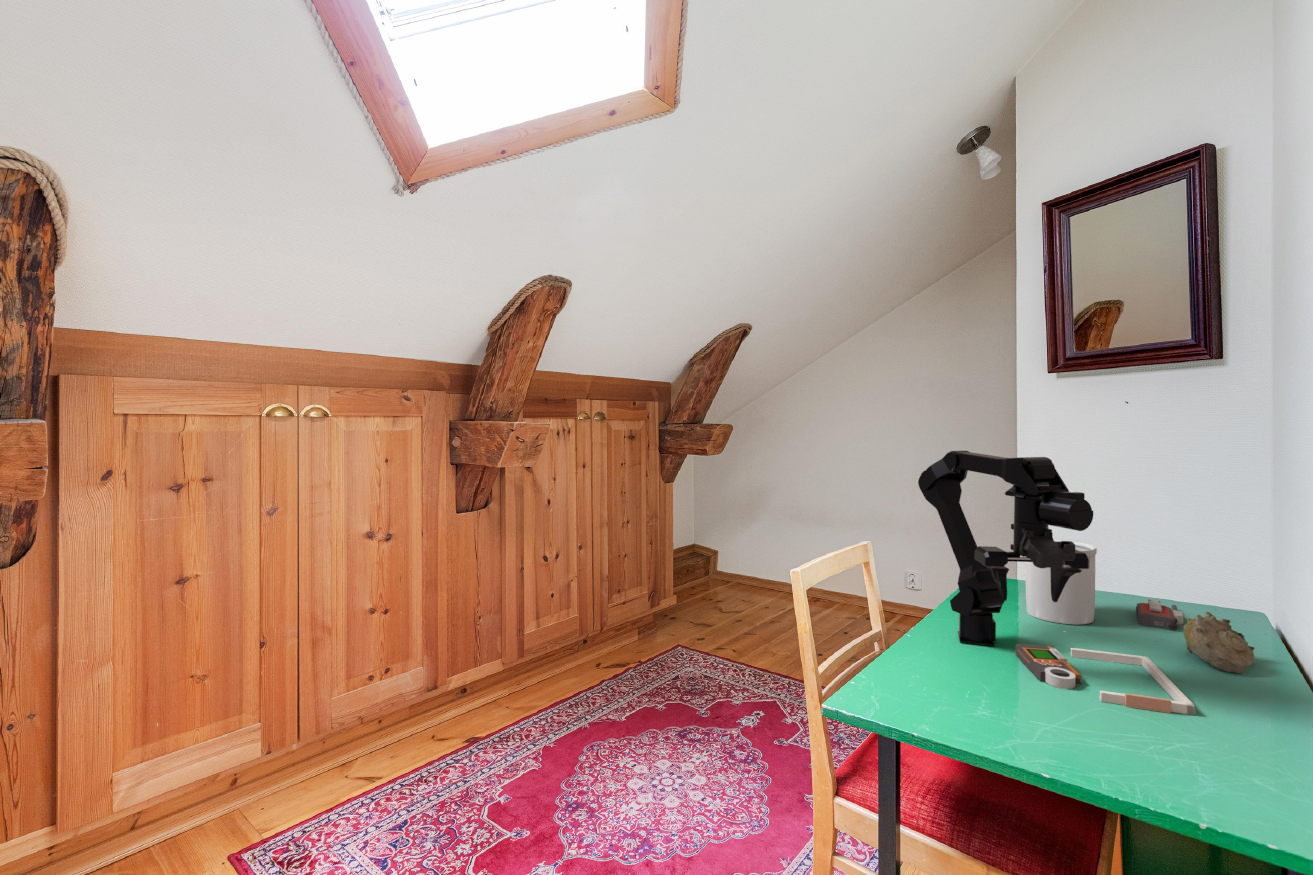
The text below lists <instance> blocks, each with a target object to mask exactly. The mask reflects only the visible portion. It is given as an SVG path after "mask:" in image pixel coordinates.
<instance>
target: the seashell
mask: <svg viewBox="0 0 1313 875" xmlns="http://www.w3.org/2000/svg"><path fill="white" fill-rule="evenodd" d="M1204 614H1205V616H1202V615H1200V614H1197V615H1196V616H1195V617H1196V618H1190V617H1189V618H1187V619H1186V621H1187V622H1186V624H1184V625H1183V637H1184V640H1185V641H1186V642H1185V643H1186V649H1187V651H1188V652H1189V653H1192V654H1194V655H1196V656H1197V657H1198V658H1200V659H1201V660H1203V661H1204V662H1206V663H1208V664H1209V665H1211V667H1215V668H1217V669H1218V670H1220V671H1224V672H1228V673H1230V672H1232V673H1237V674H1242V673H1243V672H1244V671H1246V670H1248V669H1249V668H1248V667H1251V666H1252V664H1253V662H1254V661H1255V655H1254V650H1255V647H1253V646H1250V645H1249V641H1247V640H1246V638H1245V636H1244V635H1243V634H1242V633H1241V632H1238V631H1236V630H1234V629H1233V628H1232V625H1230V623H1231V621H1230V619H1224V618H1222V619H1217V617H1216V616H1215V615H1213V614H1212V613H1211V612H1209V611H1206V612H1205V613H1204Z"/></svg>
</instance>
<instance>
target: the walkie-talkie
mask: <svg viewBox="0 0 1313 875" xmlns="http://www.w3.org/2000/svg"><path fill="white" fill-rule="evenodd" d="M1147 602H1148V603H1147ZM1147 602H1138V603H1136V606H1135V613H1136V616H1137V617H1136V618H1137V623H1138V625H1140V626H1144V627H1150V628H1158V629H1162V630H1170V631H1174V630H1176V629H1178V625H1183V624H1184V622H1185V621H1184V611H1183V610H1181V611H1180V610H1179V609H1178V607H1177V605H1176V604H1171V607H1169V606H1167V605H1163V604H1162V603H1161V600H1154V599H1148V601H1147Z"/></svg>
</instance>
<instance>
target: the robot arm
mask: <svg viewBox="0 0 1313 875" xmlns="http://www.w3.org/2000/svg"><path fill="white" fill-rule="evenodd" d="M968 472H974V473H980V474H985V475H990V476H994V477H999V478H1002V480H1003V481H1004V482H1006V483H1009V484H1011V485H1012V487H1011V488H1009V489H1008V490H1006V491H1005V492H1004V495H1005V496H1009V497H1014V499H1013V500H1014V502H1013V505H1014V506H1013V523H1011V524H1010V530H1013V543H1010V550H1012V551H1006V550H1003V549H1002V548H1000V547H997V546H984V545H983V546H982V545H980V546H978V545H977V543H976V540H975V537H974V535H973V532H972V530H971V528H970V525H969V522H968V520H967V518H966V516H965V513H964V511H963V509H962V506H961V502H960V501H961V496H962V493H963V492H962V486H961V483H962V482H964V480H966V479H967V476H968V475H967V474H968ZM917 484H918V488H919V490H920V492H921V493H922V495H923V497H924V499H925V500H926V501H927V502H928V503H929V504H931V506H932V507H934V508H935V509H936V511H937V513H938V516H939V518H940V522H941V523H942V526H943V529H944V531H945V534H946V537H947V539H948V541H949V544H950V547H951V550H952V552H953V555H954V557H955V561H956V562H957V565H958V568H959V574H958V578H957V586H958V590H959V592H958V593H957V594H956V595H954V596H953V597H952V598H951V599H950V601H949V604H950V607H951V608H950V609H951V610H952V612H954V613H957V614H958V631H957V636H958V641H959V642H960V643H963V644H971V645H976V646H977V645H978V646H987V647H994V646H995V643H994V642H996V638H997V637H996V636H997V634H996V633H997V631H996V630H997V624H996V620H995V619H994V615H993V614H1000V613H1001V609H1002V607H1003V605H1004V603H1005V602H1006V601H1007V600H1008V583H1007V582H1008V579H1007V575H1008V573H1009V571H1010V568H1008V567H1006V565H1008V563H1009V562H1013V563H1014V562H1016V563H1017V562H1019V563H1020V562H1021V563H1025V562H1033V564H1034V565H1035V566H1036V567H1038V568H1050V575H1051V597H1052V601H1053V602H1057V601H1058V599H1059V597H1060V595H1061V593H1062V591H1063V589H1064V587H1065V585H1066V583H1067V581H1068V580H1069V578H1070V577H1071V576H1072V575H1074V574H1075V573H1081V571H1082V570H1080V569H1089V563H1090V560H1089V558H1088V556H1087V555H1086V553H1083V552H1081V551H1078V550H1075V544H1074V543H1073V542H1072V541H1073V540H1067V541H1061V542H1055V541H1054V540H1055V539H1054V537H1053V534H1054V533H1053V530H1052V529H1051V528H1049V526H1052V527H1057V528H1063V529H1069V530H1071V531H1073V530H1074V531H1079V532H1082V531H1085V530H1087V529H1089V527H1090V526H1091V524H1092V523H1093V520H1094V510H1092V506H1091V504H1090V502H1089V501H1088V500H1086V499H1085V492H1081V491H1080V492H1079V491H1075V492H1074V491H1073V492H1071V491H1070V490H1069V488H1068V487H1067V485H1066V484H1065V482H1064V480H1063V479H1062V477H1061V476H1060V474H1059V472H1058V471H1057V469H1056V467H1055V464H1054V463H1053V460H1052V459H1050V458H1049V457H1047V456H1030V457H1029V456H1028V457H1004V456H996V455H991V454H990V455H989V454H984V453H977V452H971V451H969V450H951V451H949V452H946V454H945V455H944V456H943V457H942V458H941V459H938V460H937V461H936V462H934V463H932V464H930V465H929V466H928V467H927V468H926V469H925V470H924V471H922V472H921V474H920V475H919V478H918V482H917ZM1053 539H1054V540H1053Z"/></svg>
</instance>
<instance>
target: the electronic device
mask: <svg viewBox="0 0 1313 875" xmlns="http://www.w3.org/2000/svg"><path fill="white" fill-rule="evenodd" d="M1014 651H1015V656H1016V658H1018V659H1019V660H1020V662H1022V664H1023V665H1024V667H1026V668H1027V670H1028V671H1029V672H1030V673H1031V674H1032V675H1033V676H1034V677H1035V678H1036V679H1037V680H1038V681H1039V682H1040V683H1046V684H1048V686H1049V685H1050V686H1052V687H1055V688H1058V689H1064V690H1071V689H1072V690H1073V689H1074V688H1076V685H1079V686H1080V685H1082V676H1081V674H1080V673H1079V672H1078V671H1076V669H1074V667H1072V665H1071V664H1069V662H1068V659H1067V658H1066V657H1065V656H1064V655H1063V654H1062V653H1061V652H1060V651H1059V650H1058V649H1057V648H1053V647H1052V646H1048V645H1035V644H1020V643H1016V644H1015V650H1014Z"/></svg>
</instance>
